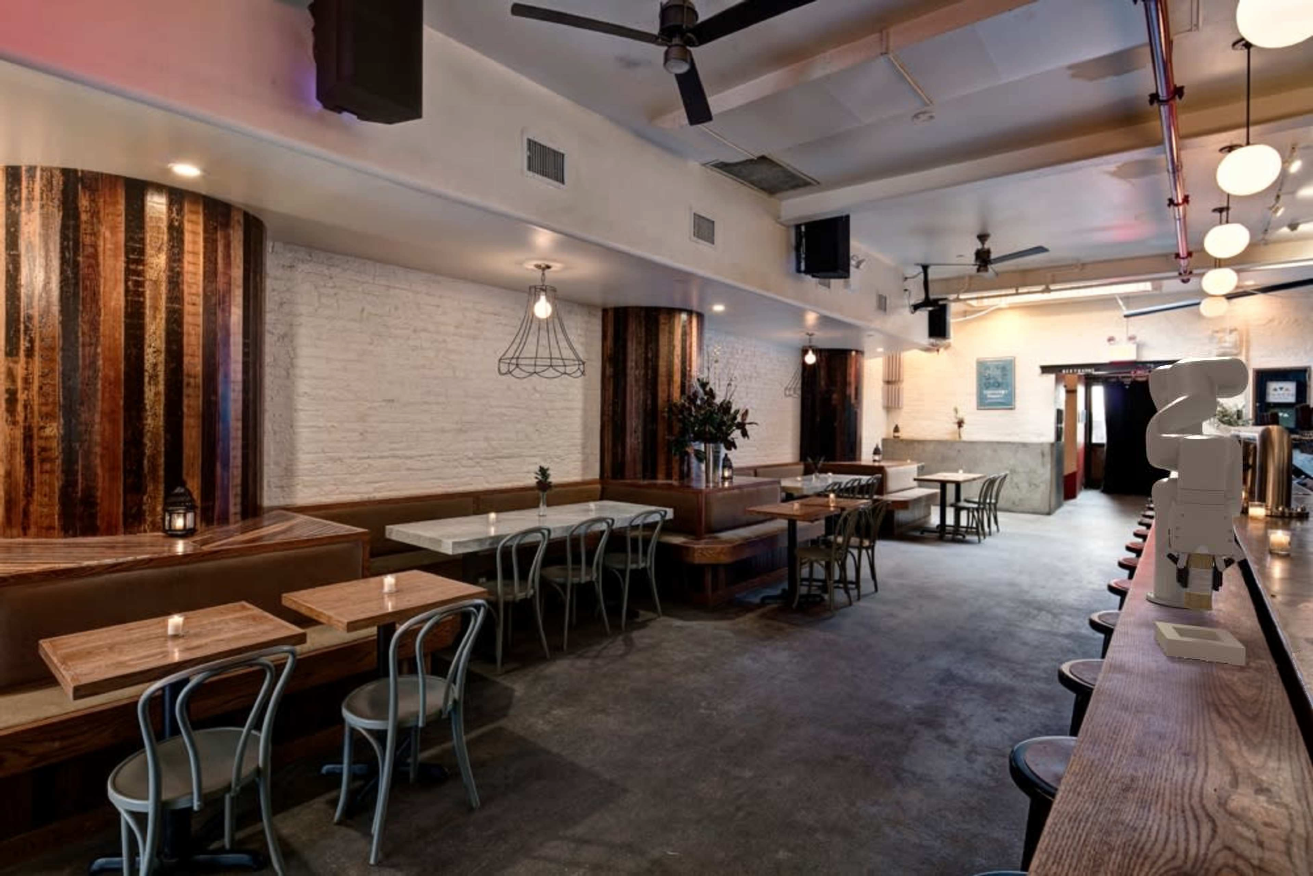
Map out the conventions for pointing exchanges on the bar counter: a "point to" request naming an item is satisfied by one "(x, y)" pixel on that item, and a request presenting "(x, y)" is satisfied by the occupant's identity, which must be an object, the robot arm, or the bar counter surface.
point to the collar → (1199, 643)
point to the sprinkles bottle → (1199, 580)
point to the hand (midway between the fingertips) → (1198, 587)
